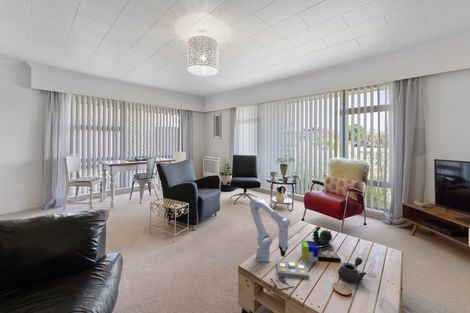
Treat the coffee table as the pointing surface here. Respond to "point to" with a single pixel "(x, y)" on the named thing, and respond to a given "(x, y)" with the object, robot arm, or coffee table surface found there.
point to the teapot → (351, 271)
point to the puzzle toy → (309, 250)
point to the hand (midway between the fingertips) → (282, 256)
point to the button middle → (291, 265)
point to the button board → (292, 270)
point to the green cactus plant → (322, 237)
